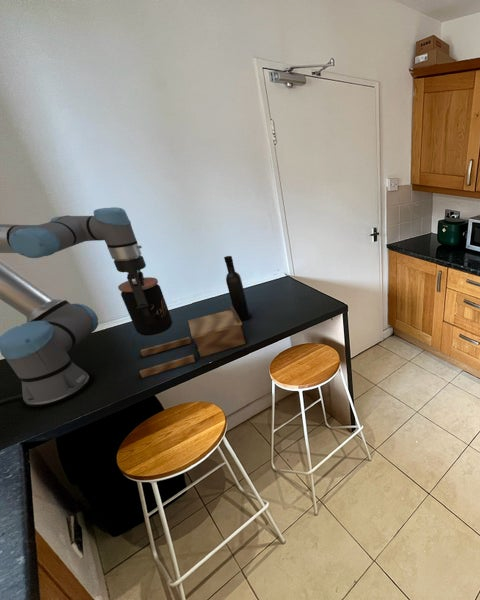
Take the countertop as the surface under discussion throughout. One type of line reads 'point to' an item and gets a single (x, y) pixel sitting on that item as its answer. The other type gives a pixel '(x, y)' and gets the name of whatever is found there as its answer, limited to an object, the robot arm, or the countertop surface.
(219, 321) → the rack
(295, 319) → the countertop surface
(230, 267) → the wine bottle
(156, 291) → the coffee jar
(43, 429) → the countertop surface
